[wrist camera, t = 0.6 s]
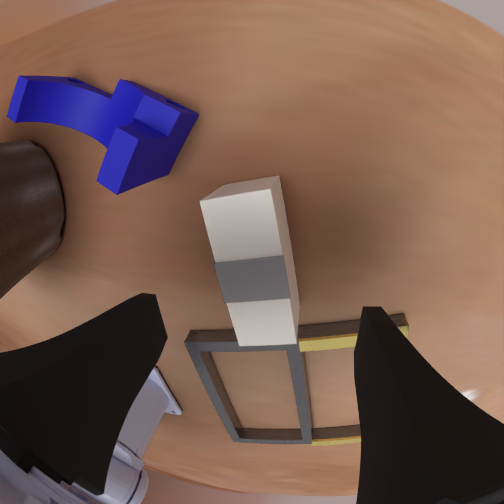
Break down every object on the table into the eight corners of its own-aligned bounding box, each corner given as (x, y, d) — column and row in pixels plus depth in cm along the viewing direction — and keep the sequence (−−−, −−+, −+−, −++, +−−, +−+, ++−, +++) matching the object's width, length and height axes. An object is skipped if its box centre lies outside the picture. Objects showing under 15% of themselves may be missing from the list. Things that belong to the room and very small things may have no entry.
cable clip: (200, 114, 16) (152, 110, 11) (169, 174, 18) (116, 194, 13) (82, 61, 15) (26, 55, 10) (62, 110, 17) (7, 116, 12)
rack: (235, 431, 29) (232, 443, 27) (190, 330, 23) (182, 344, 21) (383, 425, 24) (385, 438, 23) (403, 313, 19) (409, 327, 17)
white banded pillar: (251, 305, 21) (237, 347, 17) (223, 184, 18) (197, 202, 13) (300, 302, 20) (297, 345, 16) (280, 174, 17) (271, 189, 13)
